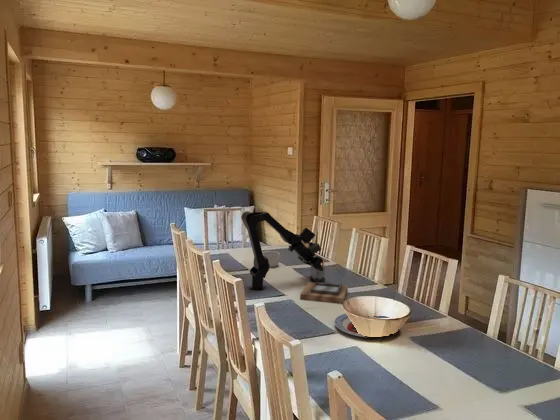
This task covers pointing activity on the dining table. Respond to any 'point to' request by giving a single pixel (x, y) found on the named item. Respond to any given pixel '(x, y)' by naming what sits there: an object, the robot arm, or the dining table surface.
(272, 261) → the teacup
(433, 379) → the dining table surface
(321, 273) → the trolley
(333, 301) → the dock
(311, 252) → the robot arm
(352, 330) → the ceramic plate
